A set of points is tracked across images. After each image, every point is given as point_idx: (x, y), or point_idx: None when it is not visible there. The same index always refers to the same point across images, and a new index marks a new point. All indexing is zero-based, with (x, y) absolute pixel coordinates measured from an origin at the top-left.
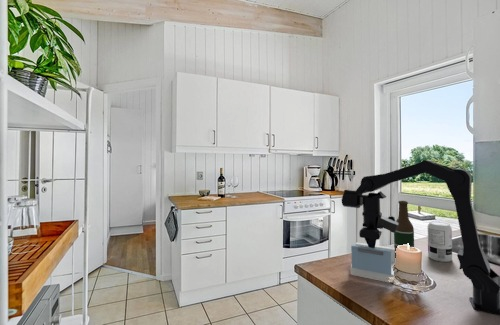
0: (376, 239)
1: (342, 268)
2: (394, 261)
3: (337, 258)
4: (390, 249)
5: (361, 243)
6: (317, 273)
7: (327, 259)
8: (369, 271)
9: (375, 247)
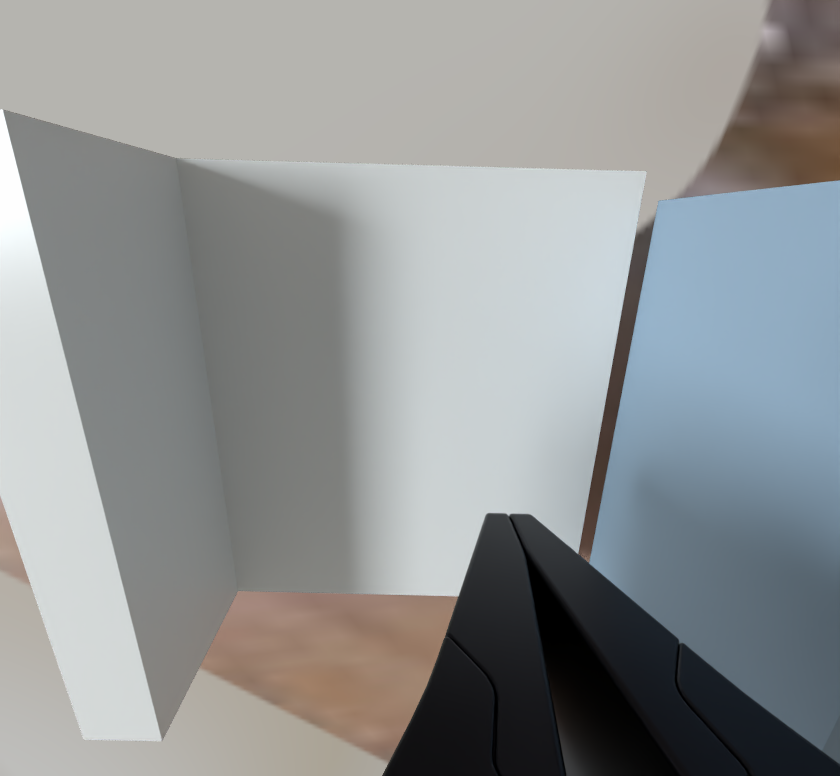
0: (492, 727)
1: (447, 608)
2: (169, 160)
3: (247, 667)
4: (37, 210)
5: (80, 682)
6: None
7: (317, 718)
8: (594, 432)
9: (109, 483)
